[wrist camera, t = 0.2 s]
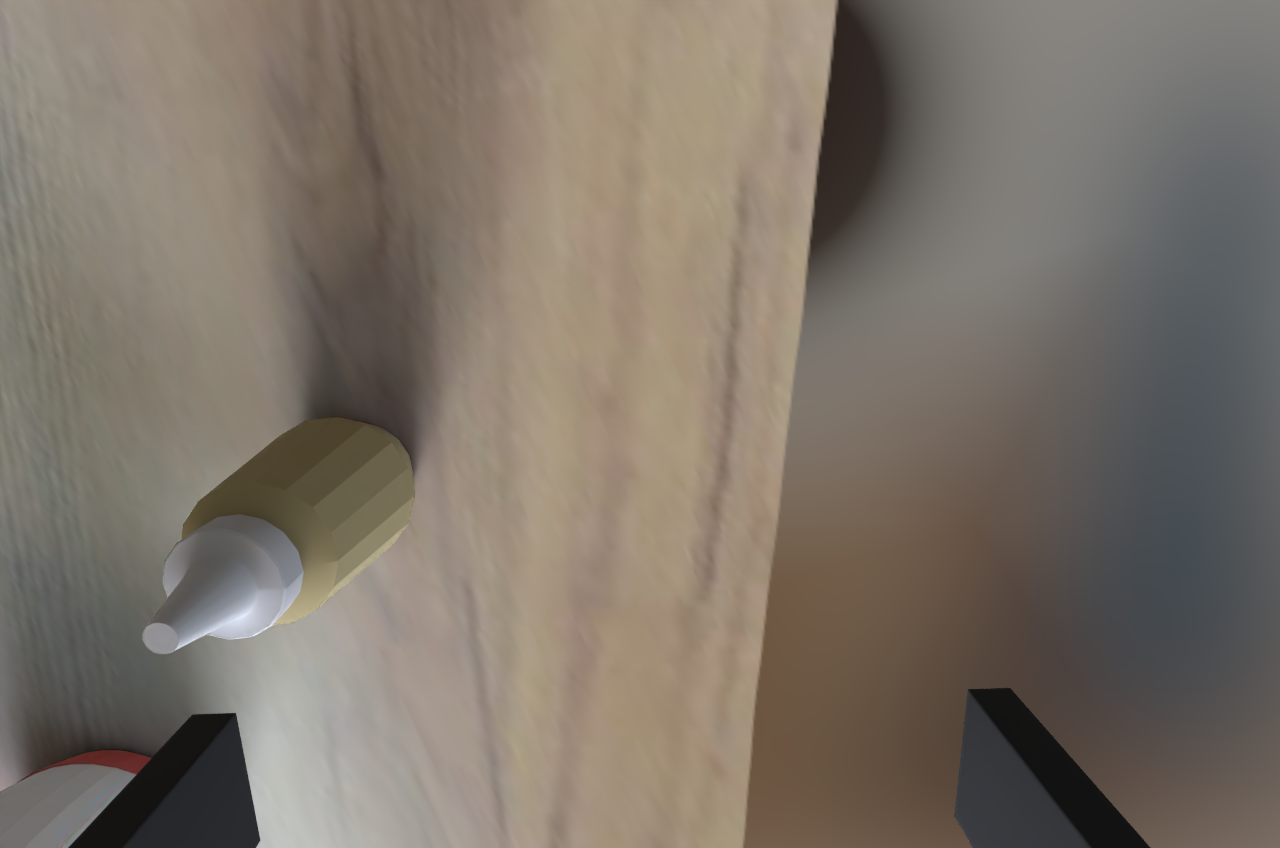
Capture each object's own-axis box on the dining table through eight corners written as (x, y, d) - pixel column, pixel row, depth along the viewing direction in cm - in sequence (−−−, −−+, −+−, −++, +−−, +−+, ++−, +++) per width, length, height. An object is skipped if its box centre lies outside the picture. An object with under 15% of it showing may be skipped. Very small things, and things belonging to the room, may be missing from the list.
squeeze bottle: (273, 500, 40) (4, 689, 23) (321, 378, 39) (70, 482, 21) (403, 555, 41) (240, 777, 24) (455, 438, 40) (320, 586, 22)
